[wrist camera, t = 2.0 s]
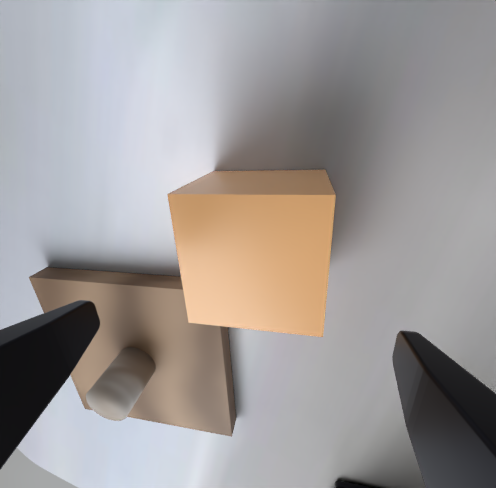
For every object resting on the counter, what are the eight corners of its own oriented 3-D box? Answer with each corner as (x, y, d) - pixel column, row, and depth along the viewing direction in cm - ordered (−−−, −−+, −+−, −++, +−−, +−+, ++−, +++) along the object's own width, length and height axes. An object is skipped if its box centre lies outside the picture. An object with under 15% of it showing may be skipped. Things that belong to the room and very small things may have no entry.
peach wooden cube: (325, 169, 14) (335, 194, 9) (318, 272, 16) (323, 337, 11) (213, 170, 15) (167, 194, 10) (222, 266, 17) (188, 322, 12)
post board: (223, 279, 18) (195, 332, 13) (236, 418, 23) (219, 488, 19) (47, 267, 20) (-26, 307, 16) (96, 394, 26) (52, 450, 22)
